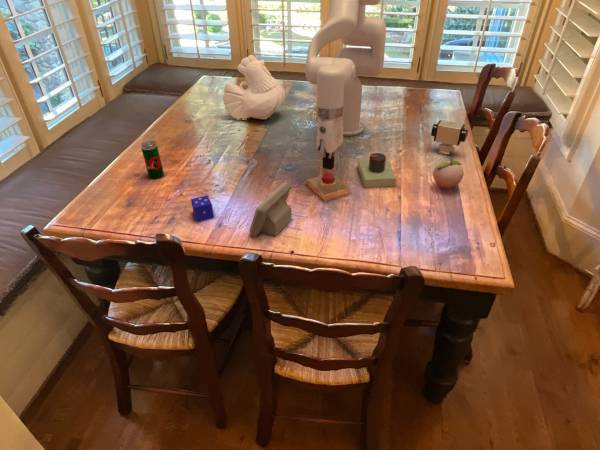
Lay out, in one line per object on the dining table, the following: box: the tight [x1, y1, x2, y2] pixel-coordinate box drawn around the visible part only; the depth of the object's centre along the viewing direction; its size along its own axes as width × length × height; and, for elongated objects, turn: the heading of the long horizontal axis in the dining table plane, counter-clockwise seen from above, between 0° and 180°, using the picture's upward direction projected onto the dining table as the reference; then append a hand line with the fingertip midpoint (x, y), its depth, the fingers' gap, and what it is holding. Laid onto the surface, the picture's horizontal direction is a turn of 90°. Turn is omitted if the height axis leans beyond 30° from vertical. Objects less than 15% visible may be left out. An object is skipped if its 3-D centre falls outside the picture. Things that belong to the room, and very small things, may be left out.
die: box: [190, 195, 215, 222], centre depth 128 cm, size 5×5×5 cm
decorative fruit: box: [432, 159, 465, 189], centre depth 136 cm, size 9×8×10 cm
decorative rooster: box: [222, 54, 286, 121], centre depth 182 cm, size 25×16×25 cm
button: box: [321, 171, 335, 182], centre depth 137 cm, size 4×4×2 cm
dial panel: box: [357, 158, 397, 188], centre depth 145 cm, size 13×10×3 cm
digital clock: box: [249, 181, 292, 237], centre depth 122 cm, size 16×9×11 cm, turn 140°
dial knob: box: [368, 152, 387, 173], centre depth 142 cm, size 5×5×5 cm
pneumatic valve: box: [430, 119, 469, 156], centre depth 155 cm, size 6×12×12 cm, turn 61°
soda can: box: [140, 140, 165, 180], centre depth 145 cm, size 5×5×12 cm
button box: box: [306, 173, 350, 202], centre depth 139 cm, size 11×9×4 cm
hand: (328, 167), depth 135 cm, fingers closed
